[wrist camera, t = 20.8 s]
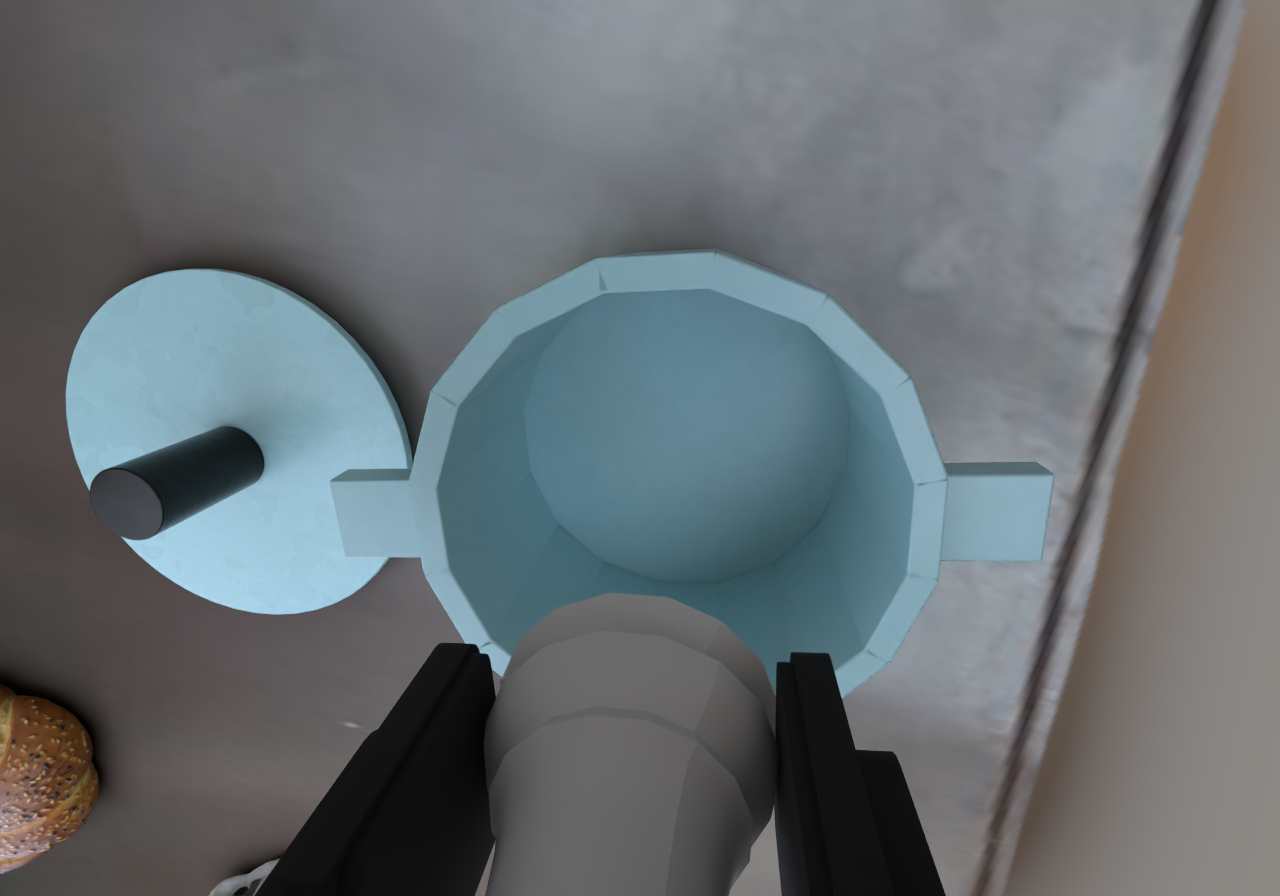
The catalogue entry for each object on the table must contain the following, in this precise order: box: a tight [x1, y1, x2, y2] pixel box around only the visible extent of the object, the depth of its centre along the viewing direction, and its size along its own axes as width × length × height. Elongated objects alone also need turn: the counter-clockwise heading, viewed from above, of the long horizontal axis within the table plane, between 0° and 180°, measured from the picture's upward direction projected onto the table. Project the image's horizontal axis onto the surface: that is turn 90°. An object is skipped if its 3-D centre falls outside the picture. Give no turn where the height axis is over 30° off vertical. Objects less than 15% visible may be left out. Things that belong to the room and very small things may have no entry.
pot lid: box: [66, 268, 413, 614], centre depth 24 cm, size 15×15×6 cm
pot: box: [330, 248, 1054, 698], centre depth 20 cm, size 14×19×8 cm
